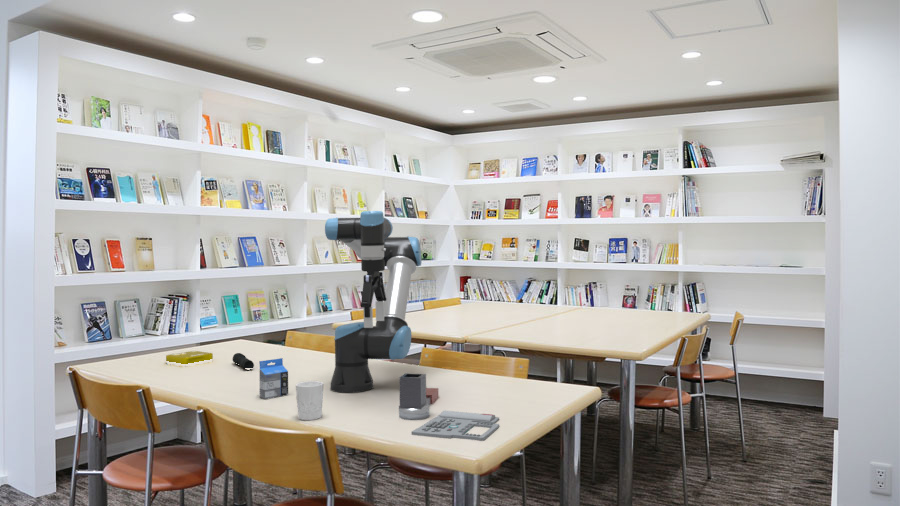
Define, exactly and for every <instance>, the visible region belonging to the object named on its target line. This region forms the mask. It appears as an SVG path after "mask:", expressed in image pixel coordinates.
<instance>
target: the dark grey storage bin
mask: <svg viewBox="0 0 900 506" xmlns="http://www.w3.org/2000/svg"><path fill="white" fill-rule="evenodd" d="M426 388H427V374H426V373H415V372H414V373H413V372H412V373H408V372H407V373H403V374H402V375H401V376H399V406H400V408H407V409H422V408H423V407H424V405H425V404H426Z"/></svg>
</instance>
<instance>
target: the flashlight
mask: <svg viewBox="0 0 900 506" xmlns="http://www.w3.org/2000/svg"><path fill="white" fill-rule="evenodd" d="M232 362H233V363H234V362H235V363H237V364H239V365H238V366H240V367H241V366H242V368H243V367H244V370H245V368H253V369H254V367H255V364H254V362H253V361H252V360H251V359H248V358H247V356H246V355H244V354H243V353H241V352H236V353H234V355H233V356H232ZM235 363H234V364H235Z"/></svg>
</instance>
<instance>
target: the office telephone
mask: <svg viewBox="0 0 900 506" xmlns="http://www.w3.org/2000/svg"><path fill="white" fill-rule="evenodd" d="M499 420H500V416H499V417H498V416H496V415H495V414H490V413H479V412H478V413H477V412H467V411H454V410H442V411H441V413H439V415H437V416H435V417H434V418H432V419H430V420H429V421H427V422H426V423H423V424H422V425H420V426H418V427H417V428H415V429H413V430H412V431H411V432H410V433H411V435H412V436H419V437H431V438H439V439H460V440H461V439H463V440H472V441H473V440H474V441H479V442H484V441H485V440H486V439H487V438H489V437H490V436H491V435H492V434H493V433H494V432H495V431H497V430H498V429H499V427H500V424H499V423H498V422H499ZM474 427H478V428H485V429H486V428H489V429H487V430H486V431H485V432H484V433H482V434H475V433H474V434H473V433H468V432H469V431H470V430H471V429H472V428H474Z"/></svg>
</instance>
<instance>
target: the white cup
mask: <svg viewBox="0 0 900 506" xmlns="http://www.w3.org/2000/svg"><path fill="white" fill-rule="evenodd" d="M295 392H296V404H297V405H296V407H297V416H298V417H297V418H298V419H299V420H301V421H315V420H319V419H321V418H322V416H323V404H324V403H323V402H324V400H323V399H324V382H323V381H317V380H306V381H301V382H297V383H296V384H295Z"/></svg>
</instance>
